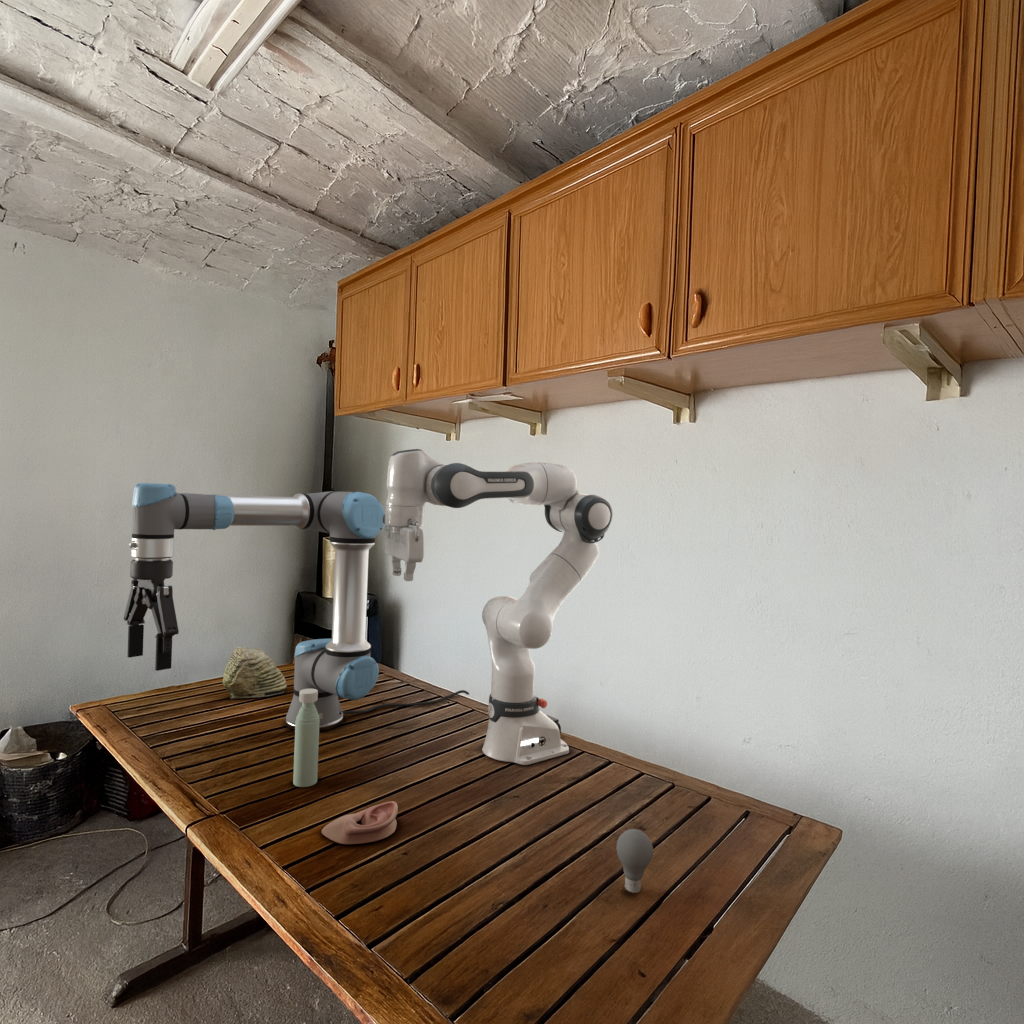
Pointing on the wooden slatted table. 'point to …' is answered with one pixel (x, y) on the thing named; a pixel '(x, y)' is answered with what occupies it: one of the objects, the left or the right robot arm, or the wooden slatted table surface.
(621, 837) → the light bulb
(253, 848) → the wooden slatted table surface
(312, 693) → the cap
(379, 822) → the anatomical model
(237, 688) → the fossil
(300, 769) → the bottle
